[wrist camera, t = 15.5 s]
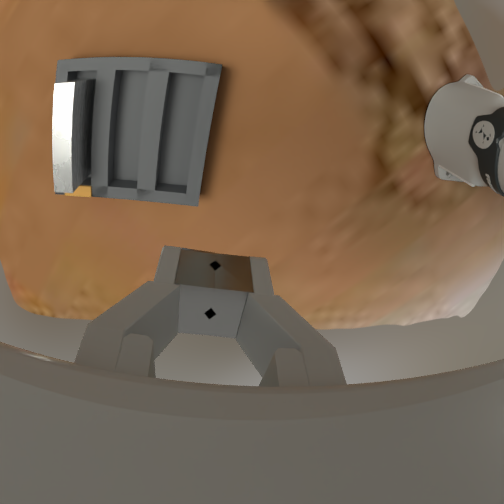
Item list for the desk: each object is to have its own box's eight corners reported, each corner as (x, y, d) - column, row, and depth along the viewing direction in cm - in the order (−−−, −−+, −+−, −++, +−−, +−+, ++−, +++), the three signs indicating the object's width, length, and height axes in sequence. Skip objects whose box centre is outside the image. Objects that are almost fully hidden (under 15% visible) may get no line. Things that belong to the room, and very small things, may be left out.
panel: (98, 78, 27) (74, 82, 22) (93, 170, 34) (72, 193, 28) (81, 78, 27) (54, 83, 21) (77, 170, 33) (54, 192, 27)
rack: (221, 65, 30) (222, 64, 27) (198, 194, 39) (197, 207, 36) (70, 59, 26) (56, 60, 23) (65, 183, 35) (54, 195, 32)
